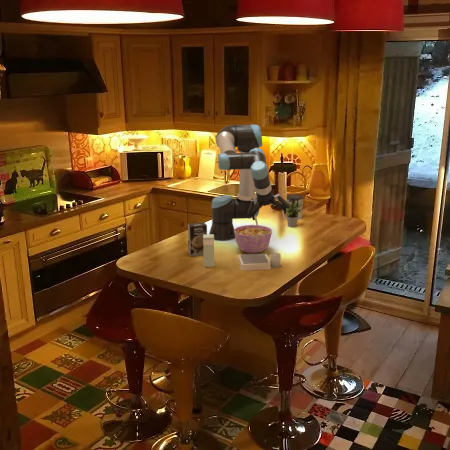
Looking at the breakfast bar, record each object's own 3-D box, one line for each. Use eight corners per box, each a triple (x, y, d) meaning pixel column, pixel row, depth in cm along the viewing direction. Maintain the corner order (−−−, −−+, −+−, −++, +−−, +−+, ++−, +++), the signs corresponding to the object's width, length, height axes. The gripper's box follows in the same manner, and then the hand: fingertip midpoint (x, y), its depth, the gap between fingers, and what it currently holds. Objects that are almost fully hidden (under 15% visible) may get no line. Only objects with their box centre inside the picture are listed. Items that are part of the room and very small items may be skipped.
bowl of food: (262, 243, 295) (262, 223, 291) (278, 254, 277) (278, 233, 273) (228, 247, 288) (228, 227, 285) (242, 259, 270) (242, 238, 267)
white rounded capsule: (269, 264, 264) (269, 252, 262) (279, 264, 264) (279, 252, 262) (270, 268, 259) (271, 256, 257) (281, 267, 259) (281, 255, 257)
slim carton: (203, 263, 266) (203, 234, 261) (214, 263, 266) (213, 234, 262) (204, 267, 261) (203, 237, 256) (214, 266, 261) (214, 237, 257)
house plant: (304, 230, 317) (305, 203, 312) (280, 229, 319) (281, 203, 314) (304, 223, 330) (305, 198, 326) (282, 222, 332) (282, 197, 328)
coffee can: (290, 220, 338) (291, 198, 334) (283, 216, 347) (284, 195, 343) (305, 218, 341) (306, 197, 337) (298, 214, 350) (299, 193, 346)
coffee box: (190, 256, 275) (189, 226, 270) (188, 252, 281) (187, 223, 276) (207, 255, 277) (207, 225, 273) (204, 251, 283) (204, 221, 279)
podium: (238, 260, 269) (238, 254, 268) (266, 259, 270) (266, 253, 269) (241, 270, 256) (241, 263, 255) (270, 269, 257) (270, 262, 256)
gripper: (238, 201, 248) (246, 231, 263) (291, 190, 245) (296, 221, 260) (236, 190, 253) (244, 220, 268) (289, 179, 250) (294, 210, 265)
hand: (270, 220), depth 264 cm, fingers open, 13 cm apart
